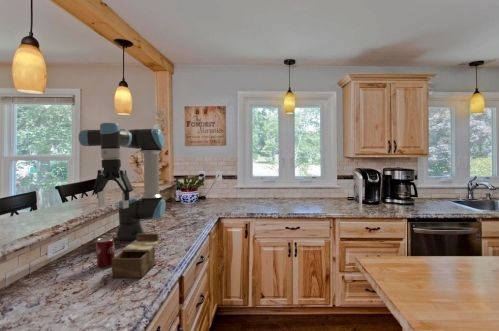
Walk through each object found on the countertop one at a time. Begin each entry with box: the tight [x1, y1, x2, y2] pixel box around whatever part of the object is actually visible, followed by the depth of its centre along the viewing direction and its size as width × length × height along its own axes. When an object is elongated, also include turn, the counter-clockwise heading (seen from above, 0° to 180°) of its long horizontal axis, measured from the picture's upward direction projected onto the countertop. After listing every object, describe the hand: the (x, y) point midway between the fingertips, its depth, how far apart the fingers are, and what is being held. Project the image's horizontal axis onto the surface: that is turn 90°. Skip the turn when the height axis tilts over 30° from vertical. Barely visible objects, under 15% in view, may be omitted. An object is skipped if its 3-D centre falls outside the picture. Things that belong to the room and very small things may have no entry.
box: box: [111, 247, 156, 280], centre depth 124 cm, size 14×12×8 cm
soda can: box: [95, 236, 116, 270], centre depth 131 cm, size 7×7×12 cm
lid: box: [121, 233, 162, 252], centre depth 132 cm, size 14×12×4 cm
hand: (113, 207), depth 128 cm, fingers open, 13 cm apart
